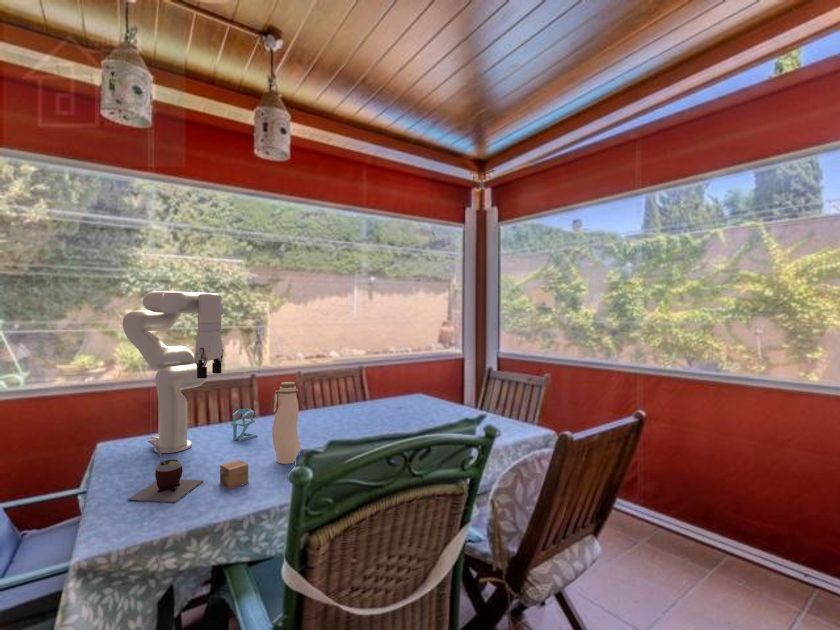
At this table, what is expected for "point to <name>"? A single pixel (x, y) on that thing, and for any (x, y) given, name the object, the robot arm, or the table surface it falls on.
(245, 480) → the brown cube
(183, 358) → the robot arm
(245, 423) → the chair
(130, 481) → the table surface
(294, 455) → the water bottle
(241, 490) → the table surface
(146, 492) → the rubber mat
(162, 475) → the mate gourd
